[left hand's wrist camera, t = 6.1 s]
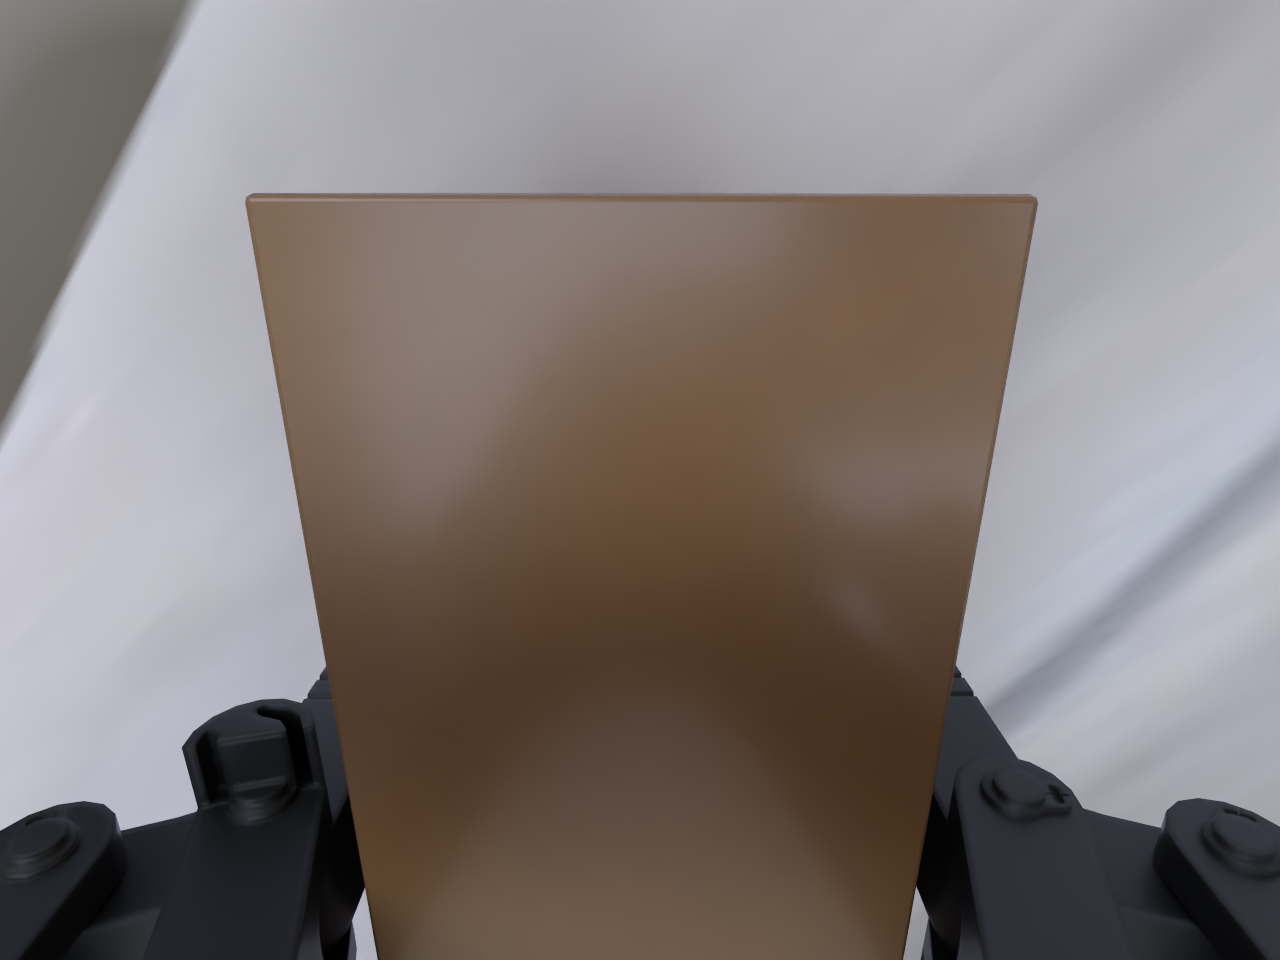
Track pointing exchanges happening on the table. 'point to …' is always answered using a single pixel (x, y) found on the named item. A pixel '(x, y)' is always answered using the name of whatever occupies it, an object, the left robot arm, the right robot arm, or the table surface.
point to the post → (640, 550)
